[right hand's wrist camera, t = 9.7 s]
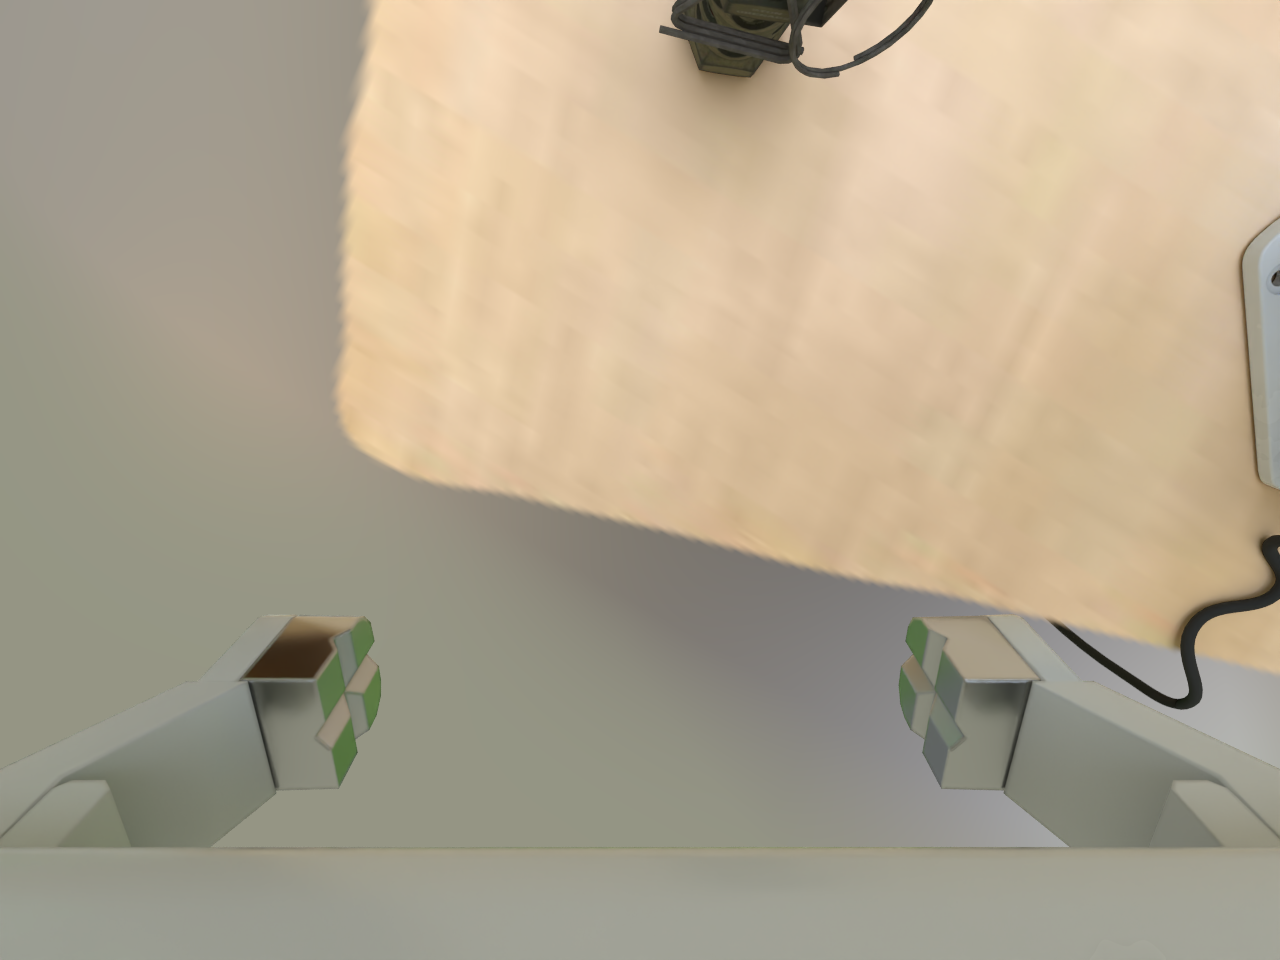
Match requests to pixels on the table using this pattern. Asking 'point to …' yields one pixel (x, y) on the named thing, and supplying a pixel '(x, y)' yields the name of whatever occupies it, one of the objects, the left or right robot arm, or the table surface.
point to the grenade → (762, 33)
